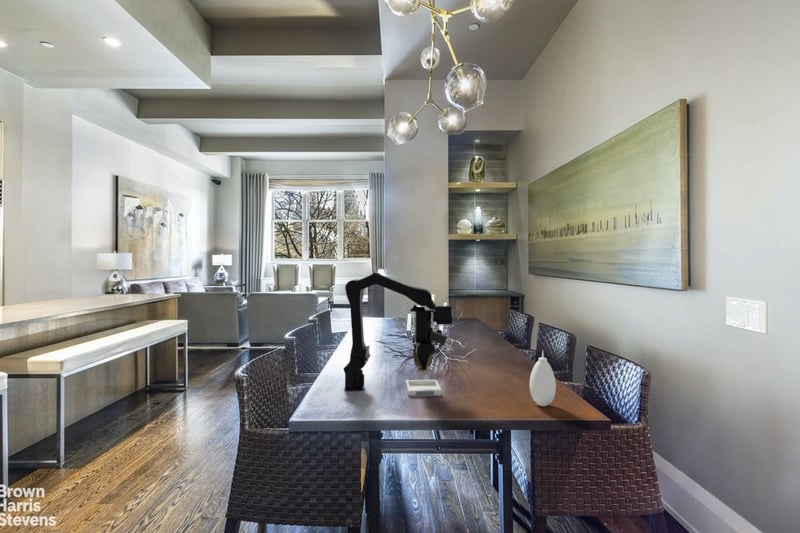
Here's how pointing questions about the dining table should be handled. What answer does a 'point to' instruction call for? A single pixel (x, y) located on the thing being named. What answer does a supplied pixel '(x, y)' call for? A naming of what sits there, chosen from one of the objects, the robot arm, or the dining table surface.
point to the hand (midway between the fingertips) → (422, 367)
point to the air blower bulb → (542, 382)
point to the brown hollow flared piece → (419, 362)
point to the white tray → (423, 388)
